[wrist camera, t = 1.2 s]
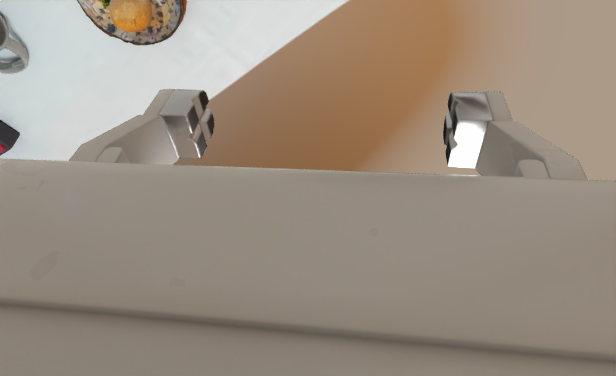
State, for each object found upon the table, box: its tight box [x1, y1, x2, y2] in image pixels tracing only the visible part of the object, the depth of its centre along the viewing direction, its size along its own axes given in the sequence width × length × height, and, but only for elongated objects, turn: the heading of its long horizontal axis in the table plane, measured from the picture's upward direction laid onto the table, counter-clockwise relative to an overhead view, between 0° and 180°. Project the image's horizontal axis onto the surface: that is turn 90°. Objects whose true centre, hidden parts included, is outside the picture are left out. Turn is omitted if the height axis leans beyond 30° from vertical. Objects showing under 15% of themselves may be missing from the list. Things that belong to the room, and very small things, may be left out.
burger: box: [77, 0, 187, 45], centre depth 42 cm, size 12×12×8 cm
